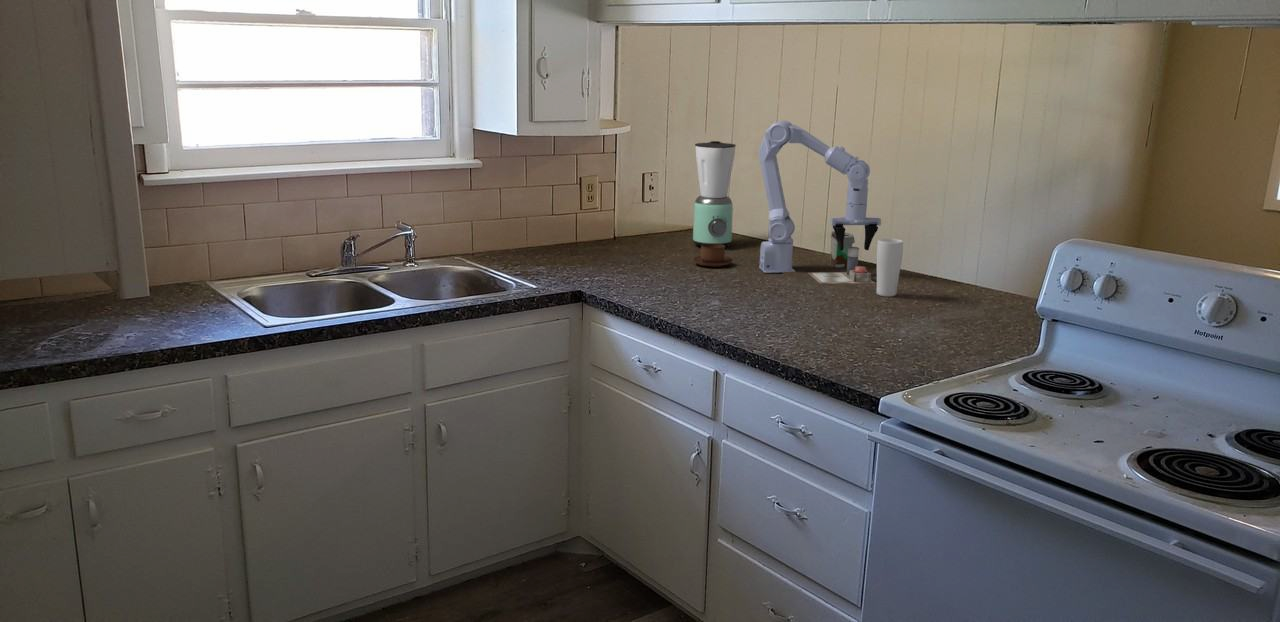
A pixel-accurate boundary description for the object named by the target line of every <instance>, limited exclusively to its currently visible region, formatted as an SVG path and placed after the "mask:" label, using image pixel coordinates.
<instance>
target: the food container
mask: <svg viewBox="0 0 1280 622" xmlns="http://www.w3.org/2000/svg"><path fill="white" fill-rule="evenodd" d="M830 238H831V239H830V258H829V261H830V263H831V264H832V265H833V267H835V268H836V269H840V268H841V269H843V268H847V261H848V247H853V244H855V243H856V240H855V237H854V235H853V234H852V233H850V232H845V234H844V248H843V250H842V251H841V250H839V246H838V240H837V237H836V234H835V231H834V230H832V231H831V234H830Z"/></svg>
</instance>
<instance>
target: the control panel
mask: <svg viewBox="0 0 1280 622" xmlns="http://www.w3.org/2000/svg"><path fill="white" fill-rule="evenodd" d="M807 274H808V275H809V276H811V277H812V278H813V279H814V280H815V281H817V282H818V283H819V284H822V285H824V284H876V282H875V281H873V280H872V273H871V272H869V271H868V270H866V273H855V270H850V272H849V275H847V271H845V272H843V271H841V272H838V271H837V272H836V271H835V272H807Z"/></svg>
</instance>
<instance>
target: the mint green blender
mask: <svg viewBox="0 0 1280 622" xmlns="http://www.w3.org/2000/svg"><path fill="white" fill-rule="evenodd" d="M694 146H695V161H696V167H697V168H696V169H697V176H698V177H697V178H698V185H699V193H700V195H698V196H697V197H696V199H695V200H694V204H693V224H692V225H693V229H692V243H693V244H695V245H696V246H700V247H701V245H702V244H722V245H724V246H725V248H728V249H729V248H730V245H731V244H732V241H733V211H734V209H733V201H732V199H731V198H730V197H729V196H728V192H729V187H730V182H731V177H732V170H733V166H734V161H735V152H736V147H737V144H735V143H728V142H726V143H725V142H721V141H719V140H718V141H716V140H713V141H712V140H711V141H710V142H709V141H708V142H698V143H695V144H694Z"/></svg>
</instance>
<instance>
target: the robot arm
mask: <svg viewBox="0 0 1280 622" xmlns="http://www.w3.org/2000/svg"><path fill="white" fill-rule="evenodd" d="M786 144H800V145H803V146H804V147H806V148H808V149H809V150H812V151H813V152H815V153H816V154H818V155H820V156H822V157H823V158H824V161H825V164H826V165H828V166H829V167H831V168H832V169H834V170H836V171H837V172H839V173H841V174H842V175H846V176H847V179H848V187H847V193H846V194H847V195H846V205H845V206H846V208H845V209H846V210H845V211H846V212H845V217H830V218H829V219H830V220H829V221H830V223H829V225H830V226H831V227H832V228H833V231H835V234H836V237H837V240H838V246H839V250H841V251H842V250H843V248H844V234H845V233H846V228H845V226H864V243H863V244H864V245H863V247H864V248H863V249H864V250H866V251H870V250H869V249H870V246H871V244H872V241H873V239H874V236H875V235H876V234H877V231H878V230H879V226H881V224H882V219H881V218H880V217H867V206H868V192H869V188H868V186H869V180H868V178H869V176H870V174H871V169H870V166H869V164H868V163H866V161H865V160H862V159H861V160H860V158H859V157H858V156H853V155H852V154H851V153H849V152H847V151H846V149H845V148H844V147H843V146H837V145H836V146H832V147H830V146H829V145H827V144H826V143H824V142H823V141H822V140H820V139H819V138H817V137H816V136H814V135H812V134H811V133H810V132H808V131H807V130H805V129H803V128H802V127H800V126H798V125H796V124H792V122H790V121H788V120H780V121H779V122H774V123H772V124H771V125H770V126H769V127H768V128H767V130H766V131H764V134H763V138H762V141H761V145H760V147H759V149H758V159H759V163H760V164H759V165H760V168H761V174H762V179H763V184H764V185H763V186H764V188H765V189H764V190H765V195H766V201H767V204H768V205H767V206H768V209H769V210H768V211H769V213H768V214H769V215H768V222H769V226H768V230H767V233H768V237H769V239H768V241H762V242H761V244H760V248H759V249H760V252H759V266H758V267H759V269H760V270H761V271H763V273H764V274H765V273H766V274H768V273H769V274H771V273H772V274H776V273H777V274H779V273H780V274H782V273H783V272H786V273H787V272H791V273H792V272H796V270H795V269H794V268H793V255H794V252H793V251H794V249H793V248H794V239H793V238H792V235H793V234H794V232H795V229H796V227H795V222H794V221H793V220H792V218H791V217H790V212H789V210H788V208H787V205H786V200H785V195H784V190H783V183H782V179H781V174H780V168H779V164H778V163H779V162H778V158H777V155H778V153H779V152H780V151H781V150H782V148H783V146H784V145H786Z"/></svg>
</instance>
